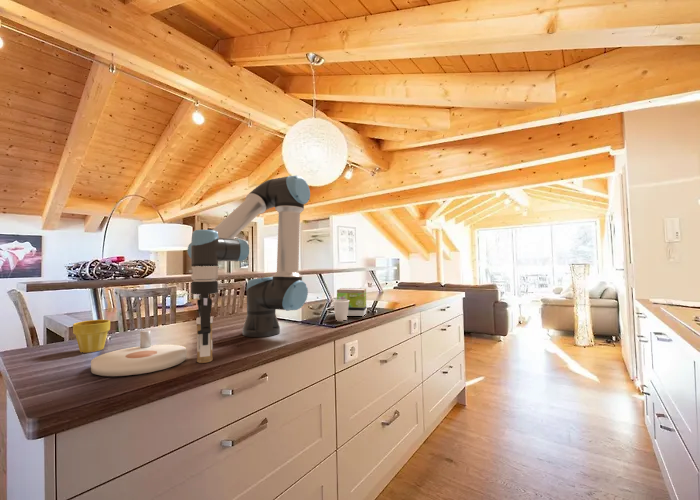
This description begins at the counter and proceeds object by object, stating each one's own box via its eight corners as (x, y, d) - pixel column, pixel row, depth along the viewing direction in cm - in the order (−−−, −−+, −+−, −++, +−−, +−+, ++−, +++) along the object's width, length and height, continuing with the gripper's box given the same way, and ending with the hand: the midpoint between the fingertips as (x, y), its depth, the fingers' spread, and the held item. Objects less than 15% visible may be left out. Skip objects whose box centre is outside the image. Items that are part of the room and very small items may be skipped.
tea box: (336, 317, 184) (336, 289, 185) (340, 314, 194) (339, 287, 195) (364, 317, 182) (364, 289, 182) (366, 314, 192) (366, 287, 192)
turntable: (186, 348, 118) (187, 326, 118) (186, 368, 96) (186, 341, 96) (102, 357, 108) (102, 333, 108) (79, 381, 86) (79, 351, 86)
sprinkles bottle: (215, 359, 106) (215, 315, 106) (206, 363, 102) (206, 318, 102) (202, 358, 107) (202, 315, 107) (192, 363, 103) (193, 317, 103)
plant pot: (90, 354, 113) (90, 325, 114) (64, 353, 116) (65, 324, 116) (117, 347, 124) (117, 319, 124) (93, 346, 126) (93, 319, 126)
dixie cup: (331, 321, 170) (331, 301, 170) (334, 318, 178) (334, 299, 178) (348, 321, 169) (348, 301, 169) (350, 319, 177) (350, 299, 177)
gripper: (191, 279, 115) (190, 343, 114) (191, 282, 92) (190, 363, 91) (215, 278, 118) (214, 341, 117) (221, 282, 95) (220, 359, 95)
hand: (204, 350), depth 104 cm, fingers open, 13 cm apart
